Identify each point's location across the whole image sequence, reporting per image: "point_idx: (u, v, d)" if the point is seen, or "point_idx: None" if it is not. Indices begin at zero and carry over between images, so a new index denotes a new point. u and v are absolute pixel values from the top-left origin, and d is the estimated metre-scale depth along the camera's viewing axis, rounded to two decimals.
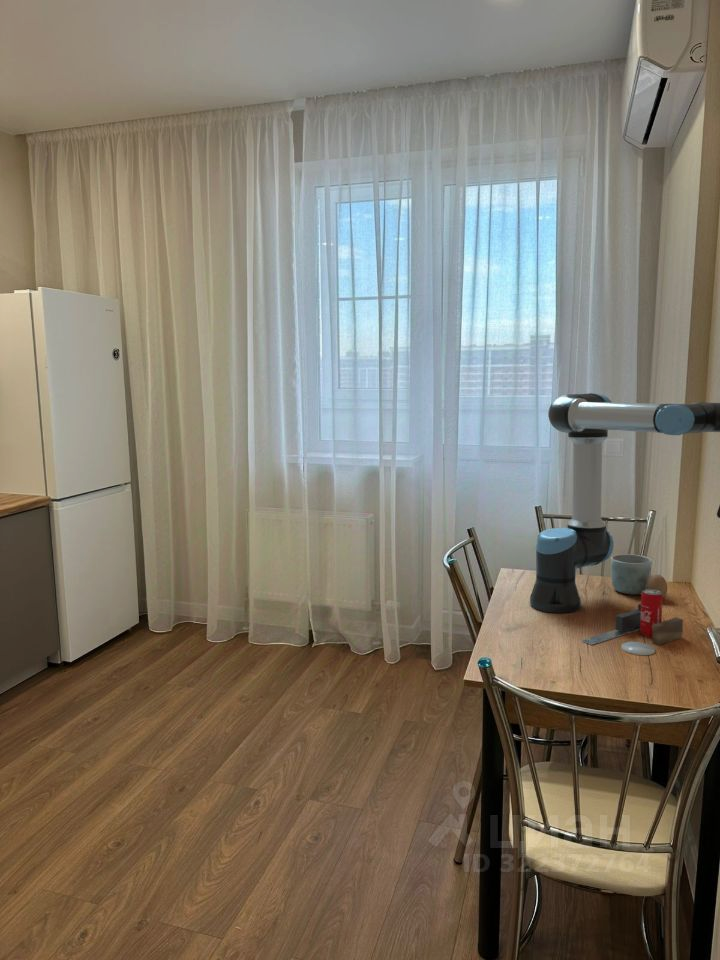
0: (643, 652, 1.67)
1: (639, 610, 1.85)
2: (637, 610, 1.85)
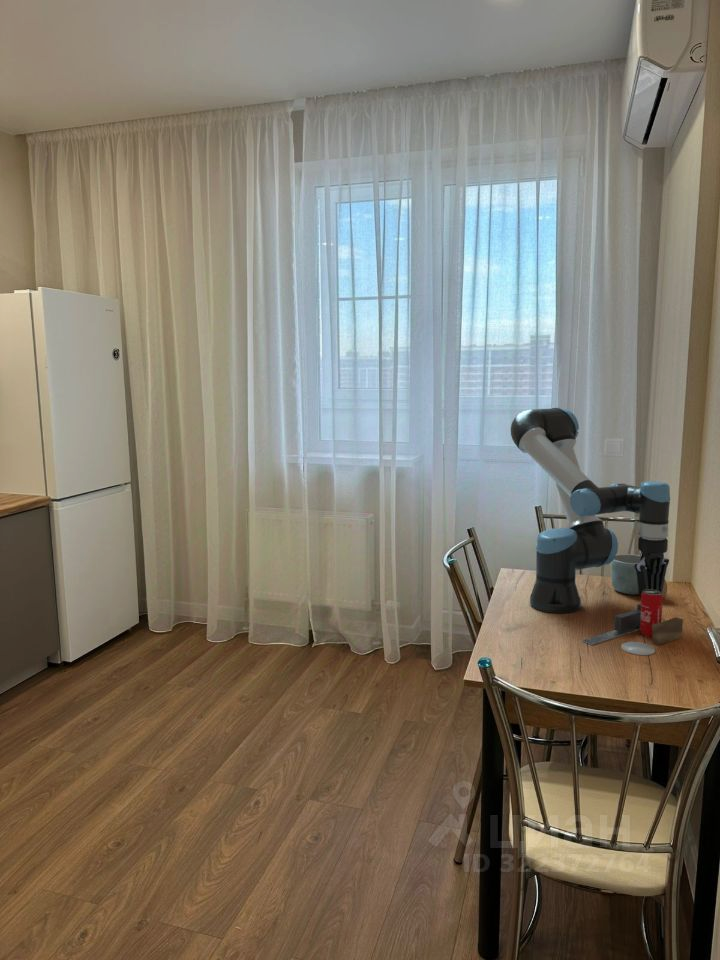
0: (643, 652, 1.67)
1: (638, 610, 1.85)
2: (636, 610, 1.85)
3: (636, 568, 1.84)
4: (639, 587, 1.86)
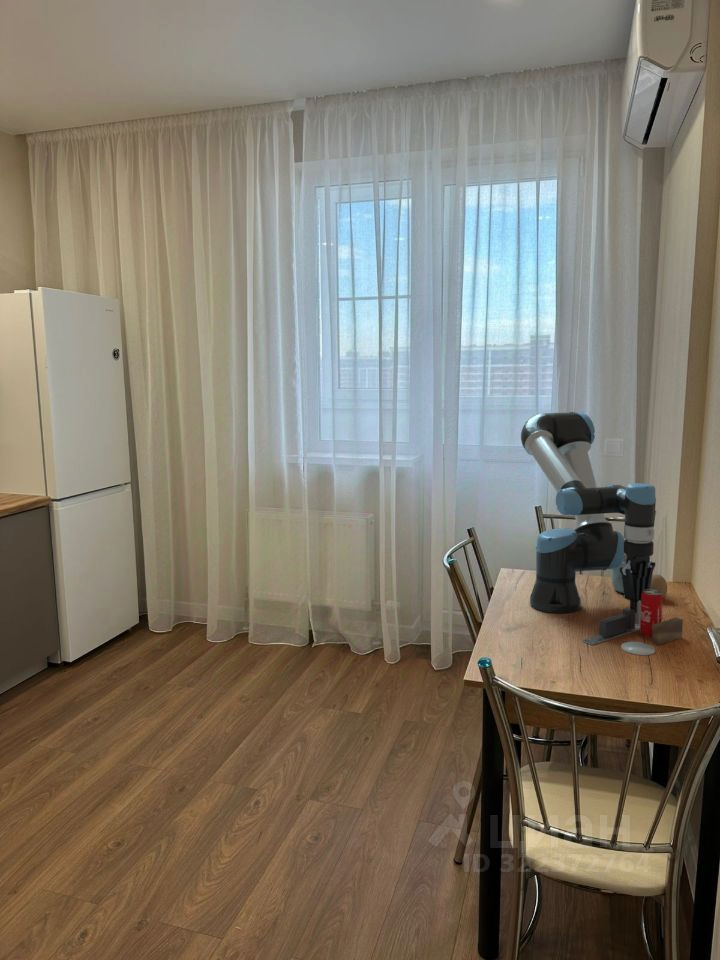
0: (643, 652, 1.67)
1: (623, 615, 1.82)
2: (621, 615, 1.82)
3: (621, 572, 1.81)
4: (625, 591, 1.82)
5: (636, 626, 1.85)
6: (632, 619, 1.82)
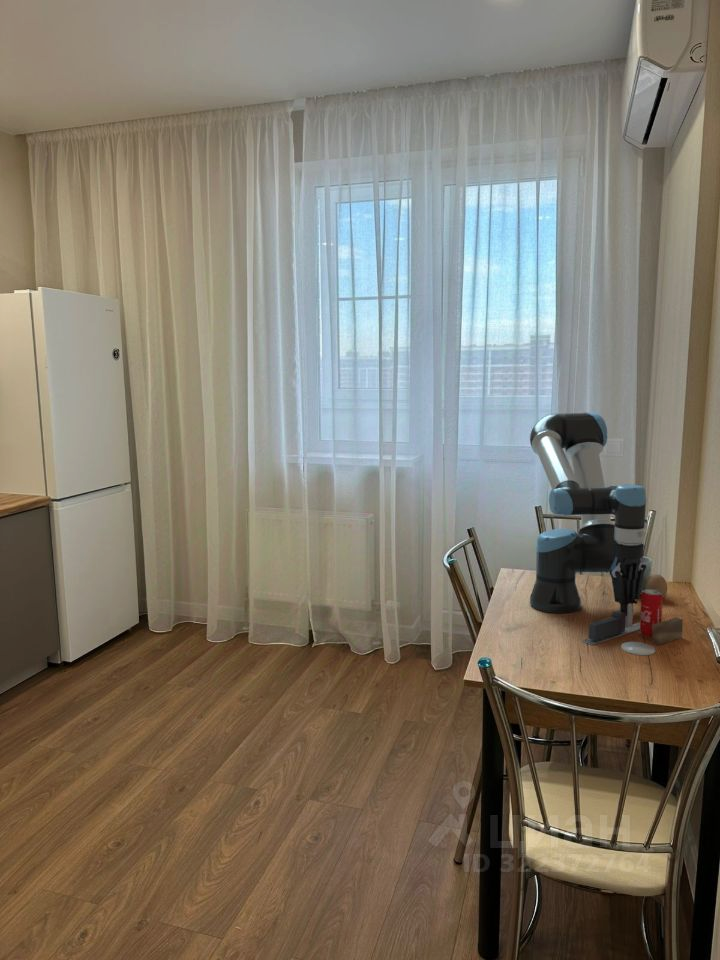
0: (643, 652, 1.67)
1: (613, 618, 1.80)
2: (611, 618, 1.80)
3: (611, 574, 1.78)
4: (615, 594, 1.80)
5: (636, 626, 1.85)
6: (622, 622, 1.80)
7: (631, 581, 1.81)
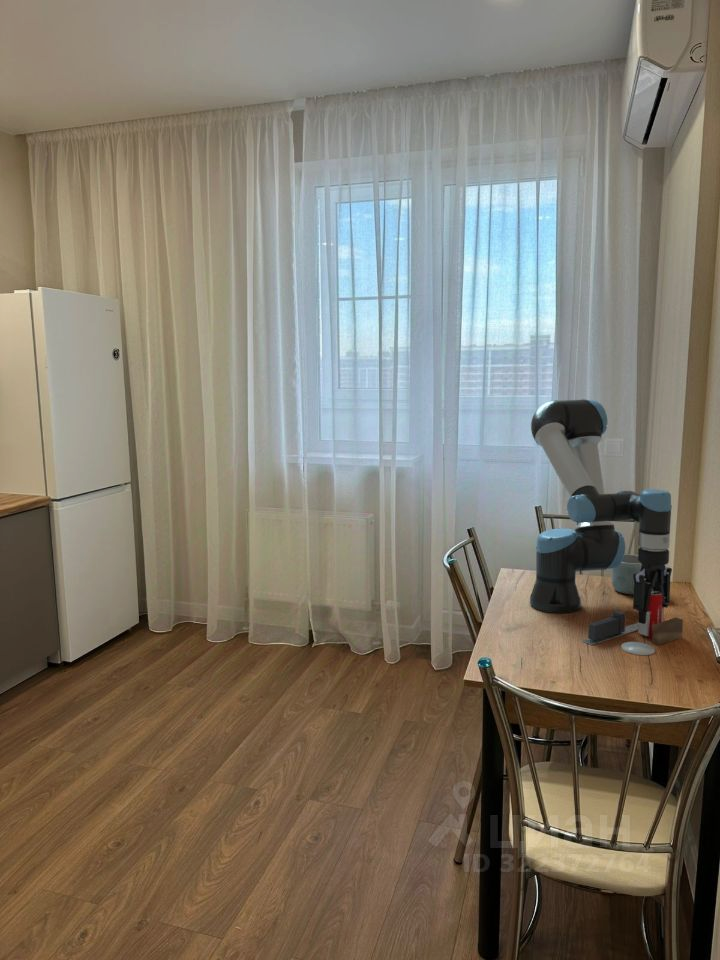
0: (643, 652, 1.67)
1: (613, 618, 1.80)
2: (611, 618, 1.80)
3: (635, 578, 1.75)
4: (634, 600, 1.76)
5: (636, 626, 1.85)
6: (622, 622, 1.80)
7: (658, 587, 1.79)
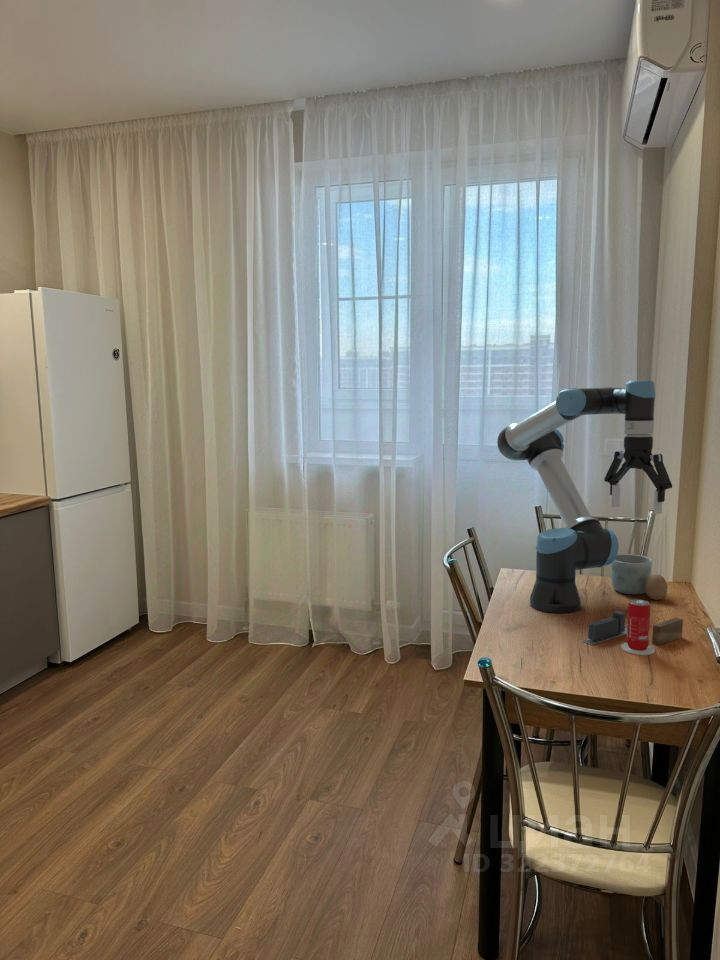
0: (643, 652, 1.67)
1: (613, 618, 1.80)
2: (611, 618, 1.80)
3: None
4: None
5: None
6: (622, 622, 1.80)
7: None
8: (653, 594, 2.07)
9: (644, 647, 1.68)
